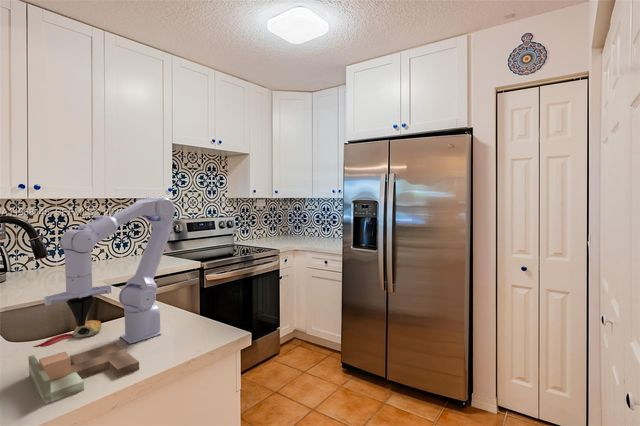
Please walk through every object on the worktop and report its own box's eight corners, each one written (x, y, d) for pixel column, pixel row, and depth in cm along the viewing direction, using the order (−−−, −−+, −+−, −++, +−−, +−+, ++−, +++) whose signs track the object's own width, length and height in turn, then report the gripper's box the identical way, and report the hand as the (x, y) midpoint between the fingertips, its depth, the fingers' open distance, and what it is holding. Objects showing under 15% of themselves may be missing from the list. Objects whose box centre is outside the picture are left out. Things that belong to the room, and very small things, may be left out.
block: (65, 367, 84) (65, 351, 84) (71, 373, 81) (70, 357, 81) (39, 375, 80) (39, 359, 80) (44, 382, 78) (43, 365, 77)
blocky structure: (115, 349, 98) (114, 332, 98) (139, 369, 87) (138, 350, 87) (29, 376, 84) (28, 356, 83) (45, 403, 73) (44, 381, 73)
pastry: (84, 327, 114) (83, 315, 114) (106, 325, 116) (106, 314, 116) (71, 339, 105) (70, 326, 105) (95, 337, 107) (95, 325, 106)
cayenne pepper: (30, 351, 98) (30, 345, 98) (29, 346, 101) (29, 339, 101) (81, 339, 106) (81, 333, 106) (79, 334, 109) (78, 329, 109)
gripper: (48, 283, 83) (50, 338, 84) (114, 272, 94) (116, 321, 95) (41, 278, 87) (43, 330, 88) (105, 268, 98) (107, 315, 99)
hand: (80, 325), depth 92 cm, fingers closed
